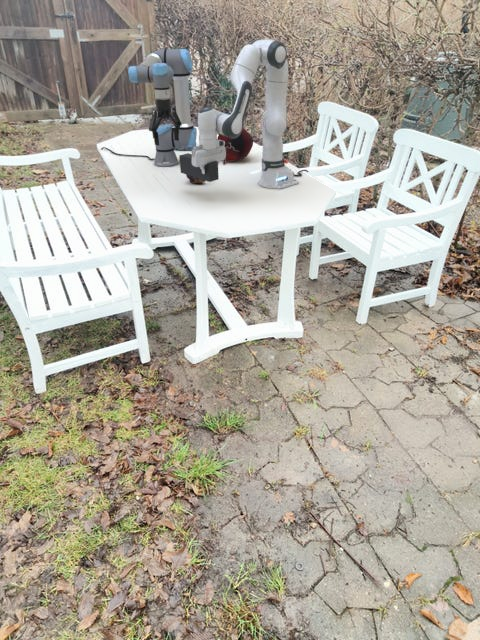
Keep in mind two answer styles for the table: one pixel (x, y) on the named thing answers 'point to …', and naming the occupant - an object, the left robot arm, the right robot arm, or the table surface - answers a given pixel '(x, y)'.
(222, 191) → the table surface
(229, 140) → the dark red rounded piece
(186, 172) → the box
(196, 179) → the rock
